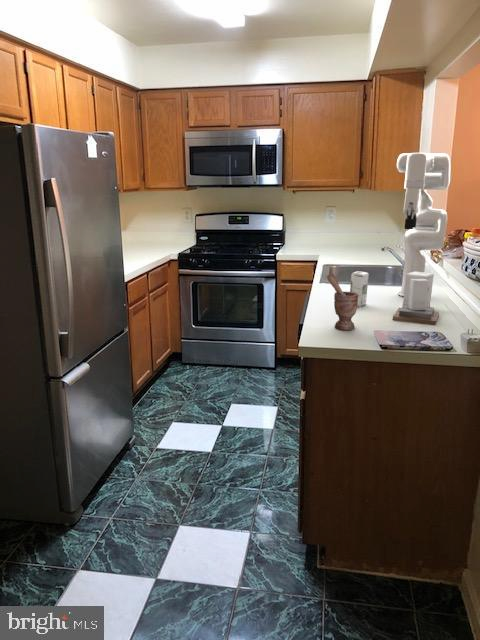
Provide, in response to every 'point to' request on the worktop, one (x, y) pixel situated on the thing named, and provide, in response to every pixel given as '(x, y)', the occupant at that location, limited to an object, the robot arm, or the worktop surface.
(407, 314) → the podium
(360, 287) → the syrup box
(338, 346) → the worktop surface
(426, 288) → the skincare box
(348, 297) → the mortar and pestle
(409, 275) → the supplement box
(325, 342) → the worktop surface
